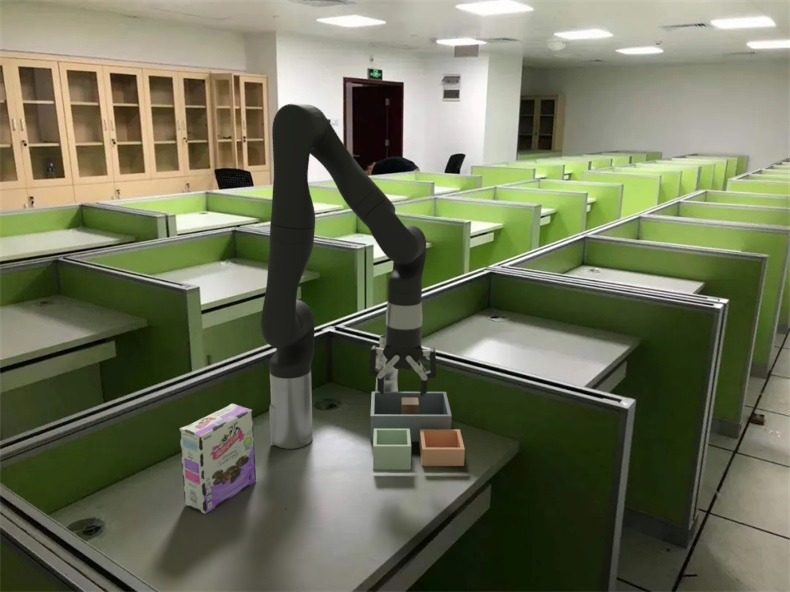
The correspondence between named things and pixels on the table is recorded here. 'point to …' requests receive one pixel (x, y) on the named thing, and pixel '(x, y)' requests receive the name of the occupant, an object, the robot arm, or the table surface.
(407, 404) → the walnut block
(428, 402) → the slate bin
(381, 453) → the pale green open box
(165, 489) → the table surface
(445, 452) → the peach square tray
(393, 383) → the plastic bottle
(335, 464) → the table surface
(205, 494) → the candy box
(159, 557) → the table surface
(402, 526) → the table surface
